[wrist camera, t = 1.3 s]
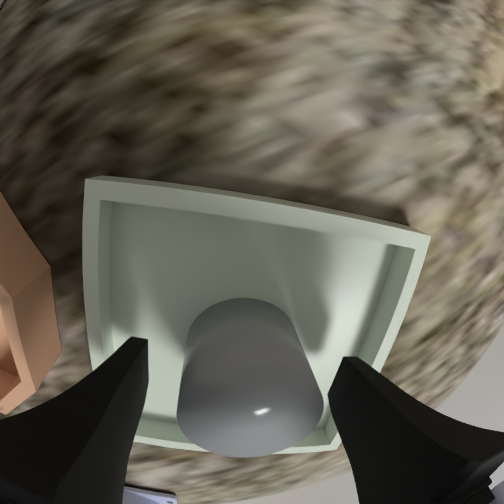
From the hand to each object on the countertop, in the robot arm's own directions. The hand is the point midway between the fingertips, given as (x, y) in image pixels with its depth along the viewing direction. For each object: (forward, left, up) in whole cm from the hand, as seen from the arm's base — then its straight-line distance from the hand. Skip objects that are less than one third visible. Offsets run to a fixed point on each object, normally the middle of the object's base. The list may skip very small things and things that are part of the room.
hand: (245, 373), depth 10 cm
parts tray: (0, 0, -2) cm, 2 cm away
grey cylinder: (0, 0, -2) cm, 2 cm away
